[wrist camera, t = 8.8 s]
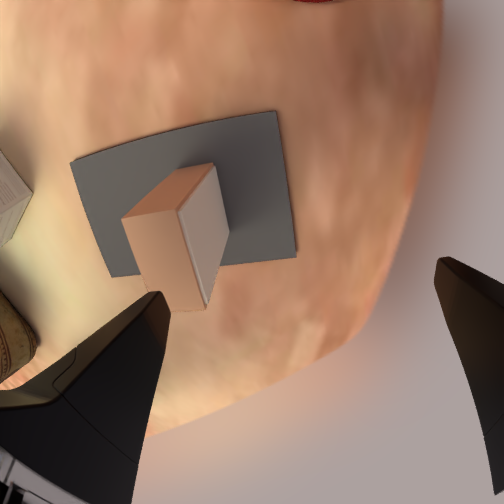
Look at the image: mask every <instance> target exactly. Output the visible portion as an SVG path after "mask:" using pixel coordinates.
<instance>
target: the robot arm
mask: <svg viewBox="0 0 504 504" xmlns="http://www.w3.org/2000/svg"><path fill="white" fill-rule="evenodd" d="M434 285H435V289H436V292H437V295H438V298H439V301H440V304H441V307H442V311H443V314H444V317H445V320H446V323H447V326H448V329H449V331H450V334H451V336H452V338H453V341H454V344H455V346H456V349H457V351H458V354H459V357H460V360H461V362H462V365H463V368H464V371H465V374H466V377H467V380H468V383H469V386H470V389H471V392H472V396H473V399H474V402H475V406H476V409H477V412H478V416H479V420H480V424H481V428H482V432H483V436H484V441H485V445H486V450H487V455H488V460H489V465H490V470H491V476H492V482H493V490H494V494H495V495H497V494H499V493H501V492H503V491H504V284H502V283H500V282H499V281H497V280H495V279H493V278H490V277H489V276H487V275H485V274H483V273H482V272H480V271H478V270H476V269H474V268H472V267H470V266H468V265H466V264H464V263H462V262H460V261H458V260H456V259H454V258H451V257H441V258H439V259H438V260H437V264H436V271H435V277H434ZM170 317H171V312H170V308H169V306H168V304H167V302H166V299H165V297H164V295H163V293H162V292H161V291H150V292H148V293H147V294H145V295H144V296H143V297H141V298H140V299H139V300H137V301H136V302H135V303H133V304H132V305H131V306H129V307H128V308H127V309H125V310H124V311H123V312H121V313H120V314H118V315H117V316H116V317H114V318H113V319H112V320H111V321H109V322H108V323H107V324H105V325H104V326H103V327H101V328H100V329H99V330H97V331H96V332H95V333H93V334H92V335H91V336H89V337H88V338H87V339H86V340H84V341H83V342H82V343H80V344H79V345H78V346H77V348H76V347H75V348H74V349H72V350H71V351H70V352H69V353H67V354H66V355H65V356H63V357H62V358H61V359H59V360H58V361H57V362H55V363H54V364H52V365H51V366H49V367H48V368H47V369H45V370H44V371H42V372H41V373H39V374H38V375H36V376H35V377H33V378H32V379H30V380H29V381H27V382H26V383H25V384H23V385H21V386H20V387H17V388H15V389H11V390H0V504H131V502H132V496H133V490H134V486H135V480H136V475H137V471H138V464H139V459H140V455H141V450H142V446H143V441H144V437H145V432H146V428H147V423H148V419H149V415H150V410H151V406H152V402H153V398H154V394H155V390H156V386H157V382H158V378H159V374H160V370H161V366H162V363H163V359H164V354H165V349H166V343H167V336H168V330H169V324H170Z"/></svg>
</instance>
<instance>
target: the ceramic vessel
mask: <svg viewBox="0 0 504 504" xmlns="http://www.w3.org/2000/svg"><path fill="white" fill-rule="evenodd" d="M36 348H37V346H36V339H35V336H34V332H33V331H32V329H31V328H30V326H29V325H28V324H27V322H26V321H25V320H24V319H23V318H22V316H21V315H20V314H19V313H18V312H17V311H16V310H15V308H14V307H13V306H12V305H11V304H10V303H9V301H8V300H7V299H6V298H5V297H4V295H3V294H2V293H1V292H0V384H1V383H2V382H3V381H4V380H5V379H7V378H9V377H10V376H11V375H13V374H14V373H15V372H17V371H18V370H19V369H20V368H22V367H23V366H24V365H26V364H27V363H29V362H30V360H31V359H32V358H33V357H34V355H35V353H36Z"/></svg>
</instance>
